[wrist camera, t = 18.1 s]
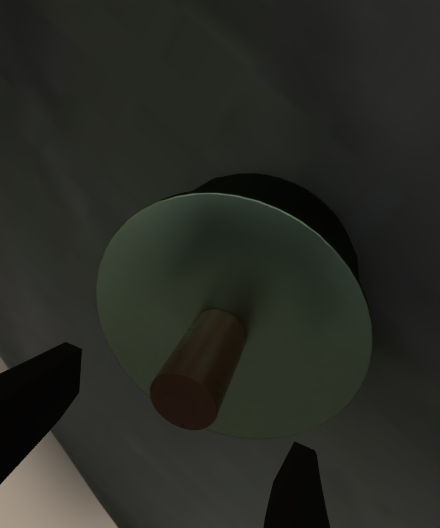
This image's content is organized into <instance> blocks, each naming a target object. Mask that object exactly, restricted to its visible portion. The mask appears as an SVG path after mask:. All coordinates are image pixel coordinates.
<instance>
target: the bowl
mask: <svg viewBox="0 0 440 528" xmlns="http://www.w3.org/2000/svg"><path fill="white" fill-rule="evenodd" d="M197 190H226V191H234V192H241V193H245V194H249V195H253V196H257V197H261V198H264V199H266V200H269V201H271V202H274V203H276V204H279V205H281V206H283V207H285V208H287V209H289V210H290V211H292V212H294V213H296V214H298V215H299V216H301V217H303V218H304V219H305V220H307V221H308V222H309V223H311V224H312V225H313V226H315V227H316V228H318V229H319V230H320V231H321V232H322V233H323V234H324V235H325V236H326V237H327V238H328V239H329V240H330V241H332V242H333V243H334V244H335V245H336V247H337V248H338V249H339V250H340V252H341V253H342V254H343V255H344V257H345V258H346V259H347V260H348V262H349V263H350V265H351V267H352V268H353V270H354V272H355V274H356V275H357V277H358V279H359V272H358V260H357V255H356V253H355V251H354V249H353V247H352V244H351V241H350V239H349V236H348V234H347V232H346V231H345V229H344V227H343V226H342V224H341V222H340V220H339V218H338V217H337V216H336V215H335V214H334V213H333V212H332V211H331V210H330V209H329V208H328V207H327V206H326V205H325V204H324V203H323V202H322V201H321V200H320V199H318V198H317V197H316V196H314V195H313V194H312V193H310V192H309V191H307V190H305V189H304V188H302V187H300V186H298V185H296V184H294V183H292V182H289V181H286V180H284V179H281V178H277V177H273V176H269V175H262V174H235V175H230V176H224V177H217V178H214V179H212V180H210V181H208V182H207V183H205V184H203V185H202V186H200V187H198V188H196V189H195V190H193V191H197Z"/></svg>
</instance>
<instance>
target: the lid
mask: <svg viewBox="0 0 440 528" xmlns="http://www.w3.org/2000/svg"><path fill="white" fill-rule="evenodd" d="M96 302H97V310H98V316H99V320H100V324H101V327H102V330H103V333H104V335H105V338H106V341H107V343H108V345H109V347H110V349H111V351H112V353H113V354H114V356H115V357H116V359H117V361H118V362H119V364H120V365H121V367H122V368H123V369H124V371H125V372H126V373H127V374H128V376H129V377H130V378H131V379H132V380H133V381H134V383H135V384H136V385H137V386H138V387H139V388H140V389H141V390H142V391H143V392H145V393H146V394H147V395H148V396H149V397H150V398H151V401H152V403H153V405H154V407H155V409H156V410H157V411H158V412H159V414H160V415H161V416H162V417H164V418H165V419H166V420H167V421H169V422H170V423H172V424H174V425H176V426H178V427H181V428H184V429H189V430H200V429H206V430H209V431H213V432H216V433H219V434H223V435H228V436H233V437H239V438H249V439H272V438H281V437H287V436H291V435H296V434H300V433H302V432H305V431H308V430H311V429H313V428H315V427H317V426H319V425H321V424H323V423H325V422H327V421H328V420H330V419H331V418H332V417H334V416H335V415H336V414H338V413H339V412H340V411H341V410H342V409H343V408H344V407H345V406H346V405H347V404H348V403H349V402H350V401H351V400H352V398H353V397H354V395H355V394H356V393H357V391H358V390H359V388H360V387H361V384H362V382H363V380H364V378H365V376H366V374H367V371H368V367H369V364H370V360H371V355H372V345H373V334H372V320H371V314H370V310H369V306H368V302H367V298H366V295H365V293H364V290H363V288H362V285H361V283H360V280H359V279H358V277H357V275H356V274H355V272H354V270H353V268H352V267H351V265H350V263H349V262H348V260H347V259H346V258H345V257H344V255H343V254H342V253H341V252H340V250H339V249H338V248H337V247H336V245H335V244H334V243H333V242H332V241H330V240H329V239H328V238H327V237H326V236H325V235H324V234H323V233H322V232H321V231H320V230H319V229H318V228H316V227H315V226H313V225H312V224H311V223H309V222H308V221H307V220H305V219H304V218H303V217H301V216H299V215H298V214H296V213H294V212H292V211H290V210H289V209H287V208H285V207H283V206H281V205H279V204H276V203H274V202H271V201H269V200H266V199H264V198H261V197H257V196H253V195H249V194H245V193H241V192H234V191H226V190H197V191H190V192H184V193H179V194H176V195H173V196H170V197H167V198H163V199H161V200H159V201H157V202H155V203H153V204H151V205H149V206H147V207H145V208H144V209H142V210H141V211H139V212H138V213H136V214H135V215H134V216H132V217H131V218H130V219H129V220H128V221H127V222H126V223H125V224H124V225H123V226H122V227H121V228H119V229H118V231H117V232H116V234H115V235H114V236H113V238H112V239H111V241H110V242H109V244H108V246H107V248H106V250H105V252H104V254H103V257H102V260H101V263H100V266H99V269H98V275H97V282H96Z"/></svg>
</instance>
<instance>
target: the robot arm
mask: <svg viewBox="0 0 440 528" xmlns="http://www.w3.org/2000/svg"><path fill="white" fill-rule="evenodd" d="M81 355H82V349H81V348H78V347H76V346H74V345H71V344H69V343H67V342H65V343H63V344H61V345H59V346H56V347H54V348H52V349H50V350H48V351H46V352H44V353H42V354H40V355H38V356H36V357H34V358H32V359H30V360H28V361H26V362H24V363H22V364H19V365H17V366H15V367H13V368H11V369H9V370H7V371H5V372H3V373H0V484H1V483H2V482H3V481H4V480H5V479H6V478H7V476H9V474H10V473H11V472H12V471H13V470H14V469H15V468H16V467H17V466H18V465H19V464H20V462H21V461H22V460H23V459H24V458H25V457H26V456H27V455H28V454H29V452H30V451H31V450H32V449H33V448H34V447H35V446H36V445H37V444H38V442H40V441H41V440H42V438H43V437H44V436H45V435H46V434H47V433H48V432H49V431H50V430H51V428H52V427H53V426H54V425H55V424H56V423H57V422H58V421H59V419H60V418H61V417H62V415H63V414H64V413H65V411H66V410H67V409H68V407H69V406H70V404H71V403H72V402H73V400H74V399H75V397H76V396H77V395H78V393H79V387H80V371H81ZM264 528H330V525H329V520H328V516H327V511H326V506H325V501H324V496H323V491H322V486H321V480H320V474H319V467H318V460H317V454H316V452H315V450H313V449H310V448H308V447H306V446H303V445H301V444H299V443H296V442H294V443H293V445H292V447H291V449H290V451H289V453H288V455H287V457H286V459H285V461H284V462H283V464H282V466H281V468H280V470H279V472H278V474H277V476H276V478H275V480H274V482H273V486H272V490H271V494H270V498H269V503H268V507H267V512H266V516H265V521H264Z"/></svg>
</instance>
